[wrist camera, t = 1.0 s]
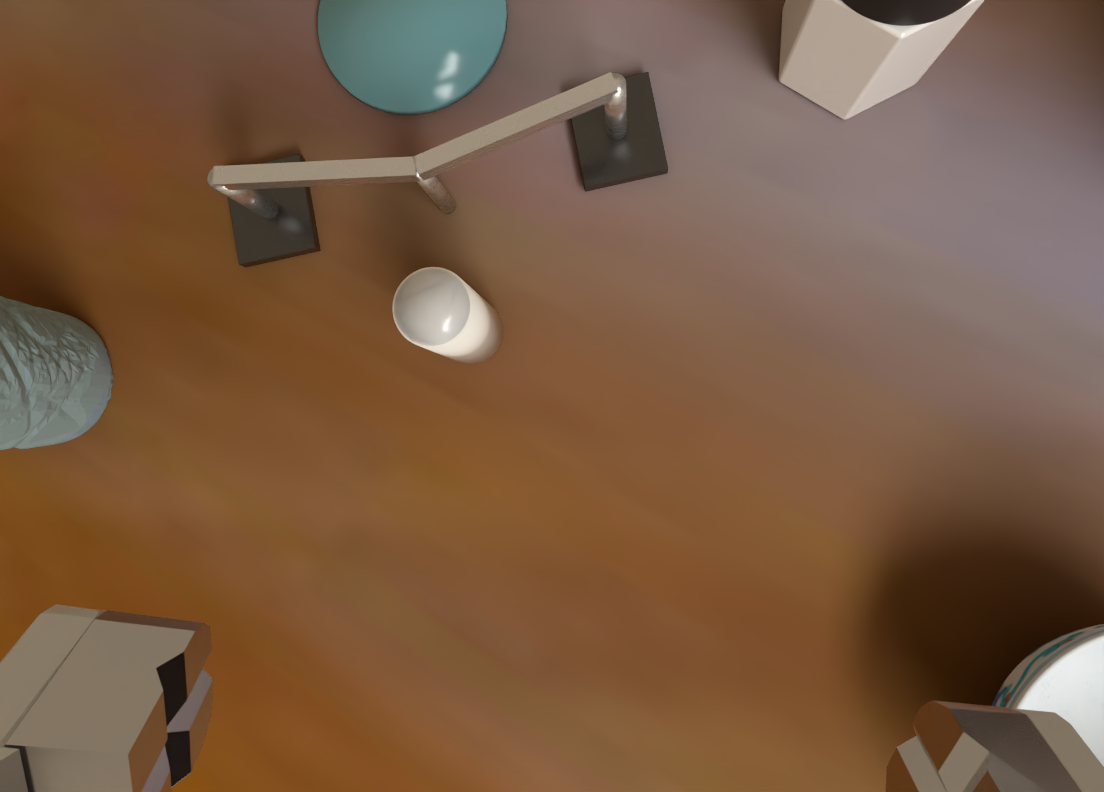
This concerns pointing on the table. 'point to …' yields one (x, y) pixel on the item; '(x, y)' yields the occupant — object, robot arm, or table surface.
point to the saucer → (411, 49)
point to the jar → (864, 47)
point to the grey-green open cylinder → (49, 376)
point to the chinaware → (1064, 683)
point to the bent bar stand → (445, 164)
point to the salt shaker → (446, 316)
